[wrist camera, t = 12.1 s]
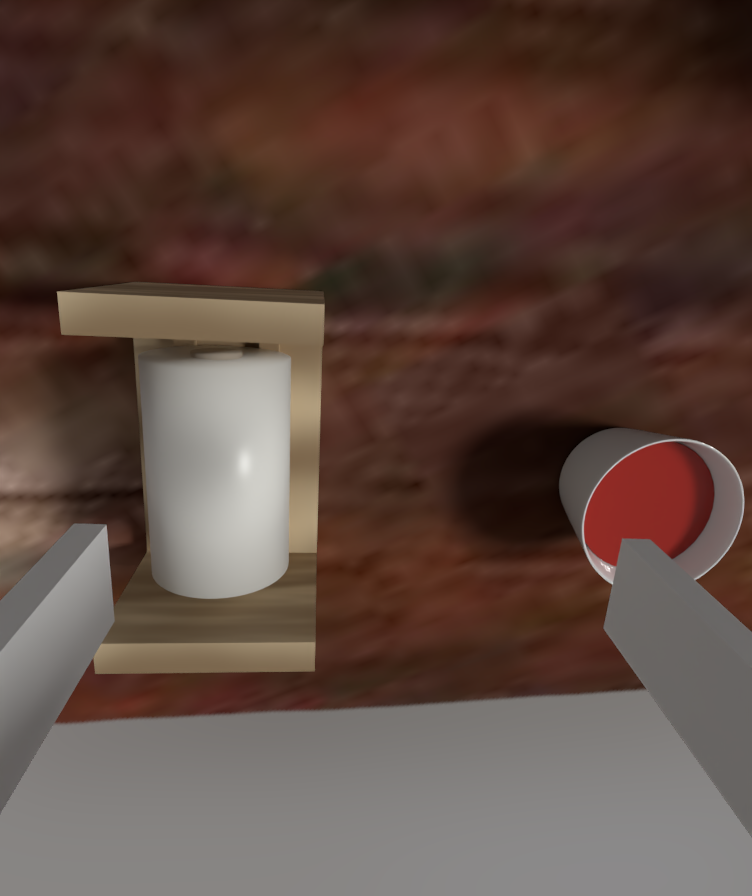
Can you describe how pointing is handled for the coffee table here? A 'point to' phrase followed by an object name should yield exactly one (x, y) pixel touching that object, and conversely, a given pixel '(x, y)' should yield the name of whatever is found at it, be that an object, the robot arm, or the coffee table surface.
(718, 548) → the candle
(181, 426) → the paper roll
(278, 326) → the oak roll cradle
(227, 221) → the coffee table surface
